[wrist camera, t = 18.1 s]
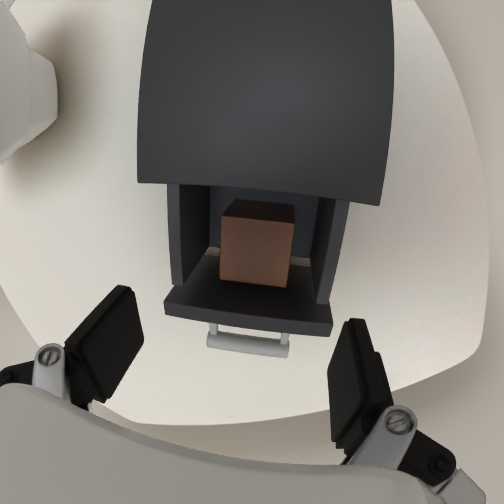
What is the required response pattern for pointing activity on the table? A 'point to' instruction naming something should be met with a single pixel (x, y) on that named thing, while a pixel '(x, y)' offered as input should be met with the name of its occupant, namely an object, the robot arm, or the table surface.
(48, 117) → the bowl
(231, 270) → the block
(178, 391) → the table surface
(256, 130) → the dark drawer cabinet
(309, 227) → the pull-out drawer
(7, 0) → the book
